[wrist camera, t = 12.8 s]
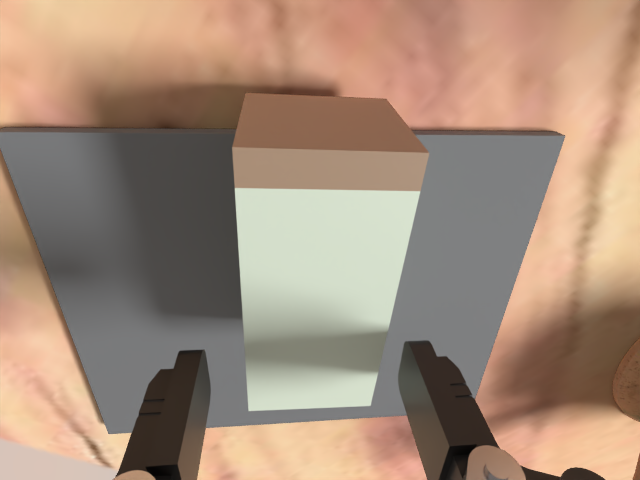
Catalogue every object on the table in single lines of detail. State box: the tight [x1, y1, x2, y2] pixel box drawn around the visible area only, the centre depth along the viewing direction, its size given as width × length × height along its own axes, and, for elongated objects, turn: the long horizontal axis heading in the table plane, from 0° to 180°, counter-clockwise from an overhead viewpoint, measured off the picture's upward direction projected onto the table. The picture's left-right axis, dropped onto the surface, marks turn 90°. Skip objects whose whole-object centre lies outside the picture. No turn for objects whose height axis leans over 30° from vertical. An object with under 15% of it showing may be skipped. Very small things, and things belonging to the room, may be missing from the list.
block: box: [232, 93, 429, 411], centre depth 14 cm, size 4×4×10 cm
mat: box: [0, 127, 565, 434], centre depth 18 cm, size 20×16×1 cm
